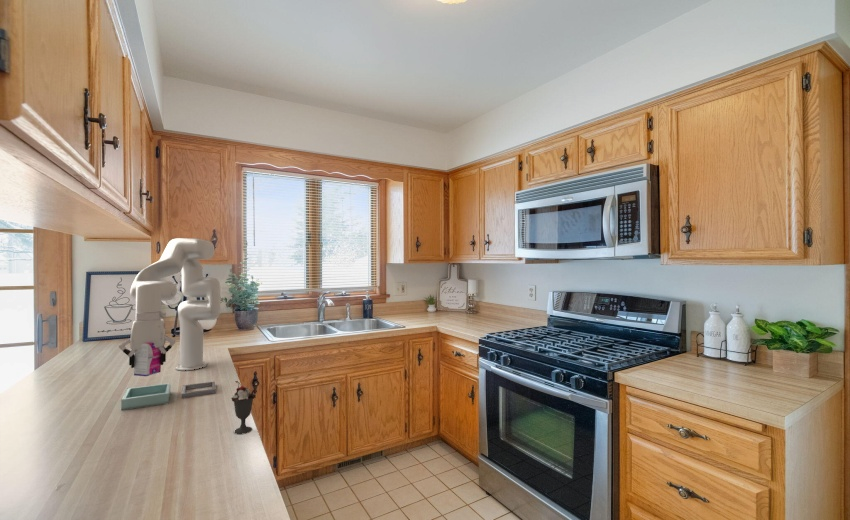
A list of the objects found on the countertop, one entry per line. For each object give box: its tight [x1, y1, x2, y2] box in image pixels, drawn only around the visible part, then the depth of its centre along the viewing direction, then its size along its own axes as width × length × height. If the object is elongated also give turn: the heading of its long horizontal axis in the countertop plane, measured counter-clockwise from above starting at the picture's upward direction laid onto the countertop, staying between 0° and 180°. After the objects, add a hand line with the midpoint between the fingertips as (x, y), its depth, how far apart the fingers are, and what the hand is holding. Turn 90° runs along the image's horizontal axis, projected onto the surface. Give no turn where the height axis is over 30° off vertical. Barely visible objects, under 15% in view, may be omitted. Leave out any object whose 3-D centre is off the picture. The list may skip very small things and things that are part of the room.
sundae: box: [230, 380, 256, 435], centre depth 116 cm, size 7×7×15 cm
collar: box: [181, 381, 217, 399], centre depth 150 cm, size 11×11×2 cm
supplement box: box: [133, 343, 162, 377], centre depth 139 cm, size 6×6×12 cm
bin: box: [120, 382, 172, 411], centre depth 139 cm, size 13×13×4 cm
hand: (147, 365), depth 139 cm, fingers closed on supplement box, 8 cm apart
